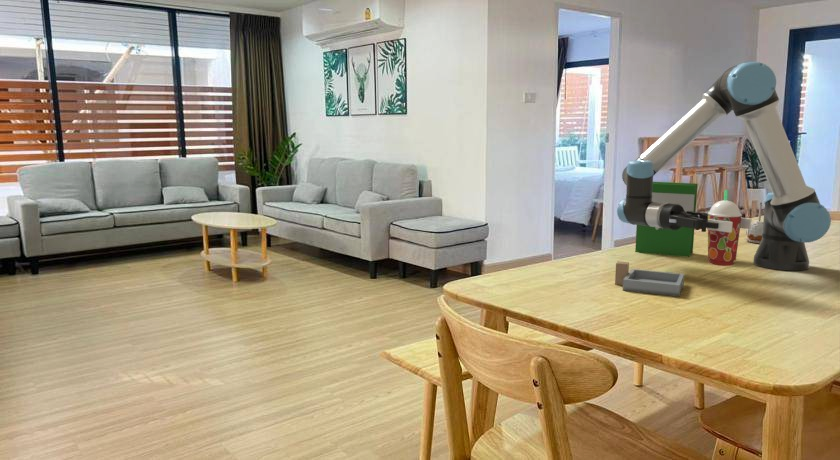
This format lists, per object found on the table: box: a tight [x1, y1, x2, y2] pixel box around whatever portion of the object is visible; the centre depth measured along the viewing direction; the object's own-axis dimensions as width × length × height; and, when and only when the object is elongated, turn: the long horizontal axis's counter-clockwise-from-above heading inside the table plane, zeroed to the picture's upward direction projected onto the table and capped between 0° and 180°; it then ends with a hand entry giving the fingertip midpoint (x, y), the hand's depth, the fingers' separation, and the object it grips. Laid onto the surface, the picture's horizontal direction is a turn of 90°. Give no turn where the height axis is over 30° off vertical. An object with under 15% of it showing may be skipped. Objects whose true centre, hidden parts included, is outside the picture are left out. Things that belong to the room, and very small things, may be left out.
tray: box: [614, 261, 685, 298], centre depth 175 cm, size 17×14×6 cm
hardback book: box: [634, 181, 699, 258], centre depth 219 cm, size 18×7×24 cm, turn 61°
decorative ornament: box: [745, 202, 763, 244], centre depth 238 cm, size 8×8×15 cm
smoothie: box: [707, 189, 743, 267], centre depth 172 cm, size 8×8×20 cm
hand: (741, 225), depth 168 cm, fingers closed on smoothie, 8 cm apart
